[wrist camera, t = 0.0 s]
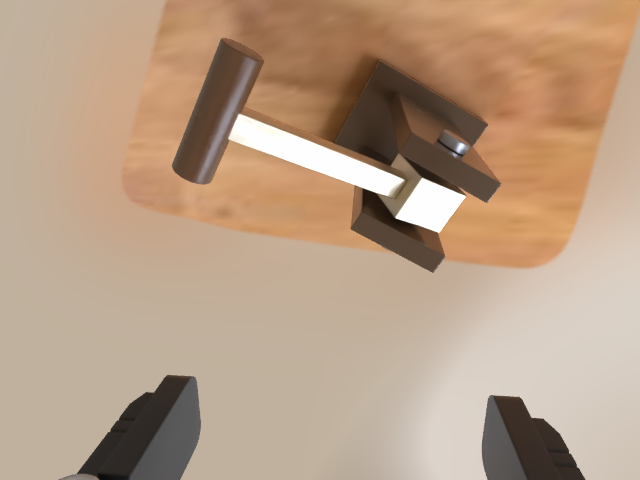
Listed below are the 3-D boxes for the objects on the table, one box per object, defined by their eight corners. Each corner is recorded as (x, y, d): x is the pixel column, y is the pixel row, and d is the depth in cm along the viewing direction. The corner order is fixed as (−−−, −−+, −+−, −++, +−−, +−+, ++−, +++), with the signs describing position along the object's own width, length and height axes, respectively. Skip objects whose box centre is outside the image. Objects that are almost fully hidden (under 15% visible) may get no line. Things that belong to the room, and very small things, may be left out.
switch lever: (170, 152, 18) (172, 183, 16) (217, 29, 16) (226, 48, 14) (402, 227, 24) (422, 256, 22) (458, 146, 22) (486, 169, 20)
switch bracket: (327, 152, 32) (304, 228, 21) (379, 58, 29) (386, 87, 18) (424, 205, 33) (453, 306, 22) (484, 120, 30) (553, 184, 19)
